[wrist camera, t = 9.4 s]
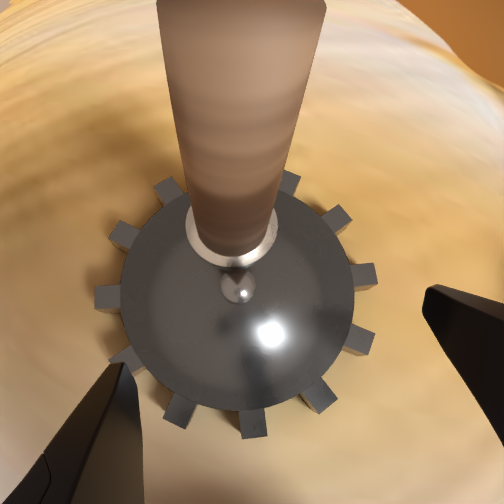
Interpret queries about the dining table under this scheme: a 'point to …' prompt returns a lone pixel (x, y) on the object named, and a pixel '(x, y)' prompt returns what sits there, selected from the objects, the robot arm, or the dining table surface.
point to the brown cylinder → (236, 105)
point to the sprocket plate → (238, 308)
